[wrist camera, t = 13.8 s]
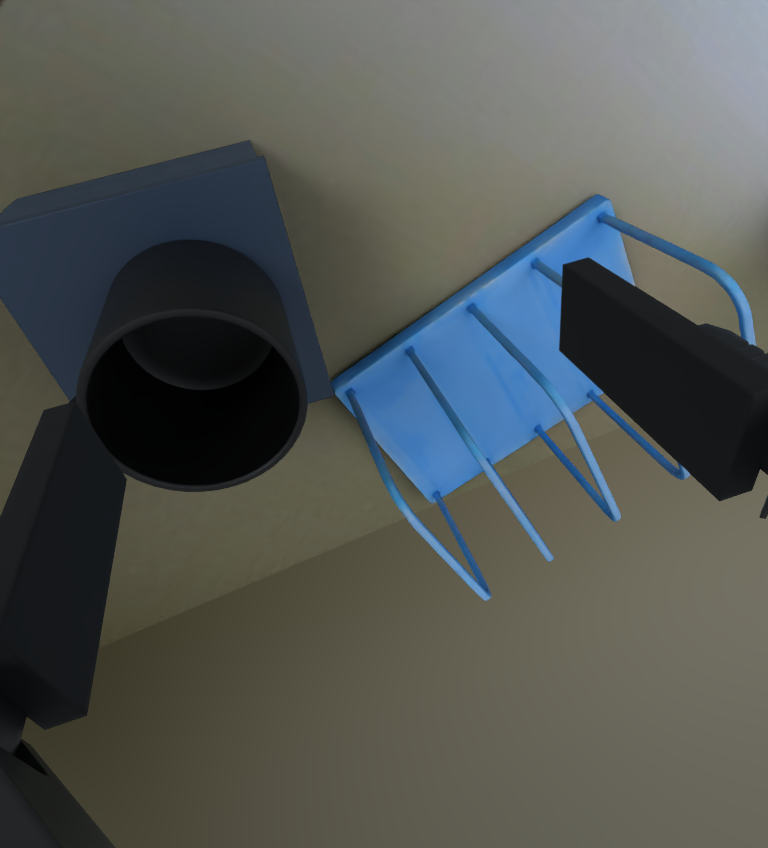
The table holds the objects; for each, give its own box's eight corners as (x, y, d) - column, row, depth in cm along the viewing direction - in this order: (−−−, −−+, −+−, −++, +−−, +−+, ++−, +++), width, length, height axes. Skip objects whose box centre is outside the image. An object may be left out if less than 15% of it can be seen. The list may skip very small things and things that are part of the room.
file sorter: (425, 492, 55) (488, 622, 43) (327, 378, 44) (373, 509, 32) (645, 350, 51) (779, 447, 39) (596, 190, 41) (759, 257, 29)
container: (6, 195, 31) (-42, 236, 25) (252, 133, 33) (264, 158, 27) (125, 396, 40) (111, 464, 34) (314, 341, 42) (334, 396, 36)
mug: (18, 298, 27) (-47, 393, 20) (239, 208, 28) (252, 270, 20) (128, 432, 33) (107, 542, 26) (309, 356, 33) (338, 444, 26)
